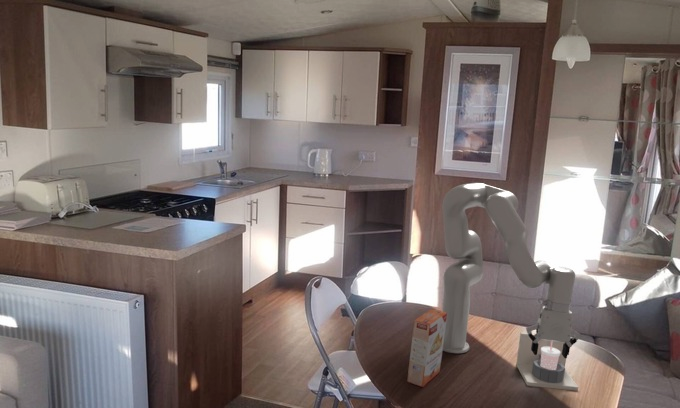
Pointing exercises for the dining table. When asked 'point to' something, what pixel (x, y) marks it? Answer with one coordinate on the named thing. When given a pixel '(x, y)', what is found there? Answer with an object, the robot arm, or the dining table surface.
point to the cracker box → (426, 347)
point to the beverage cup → (549, 357)
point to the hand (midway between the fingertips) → (549, 354)
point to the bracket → (538, 374)
